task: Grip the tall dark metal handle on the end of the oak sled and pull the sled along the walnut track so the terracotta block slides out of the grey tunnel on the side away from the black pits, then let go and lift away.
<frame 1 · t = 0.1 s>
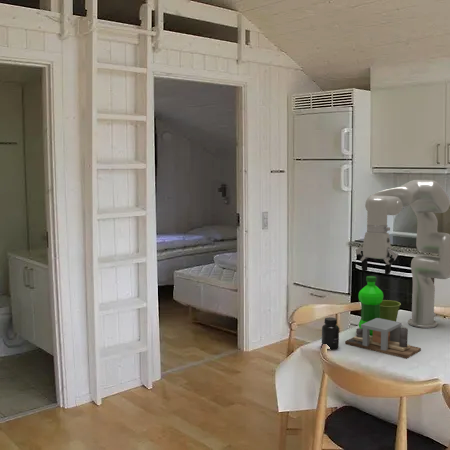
hand: (375, 272, 234), 31 cm above the table, tool pointing down, fingers open, 9 cm apart
tunnel: (381, 347, 240), resting on track board
plastic bottle: (370, 334, 258), on the table
sled: (381, 333, 239), point 6 cm above the table, slide at 0.0 cm
track board: (382, 347, 240), on the table
plant pot: (386, 328, 266), on the table
supplement bottle: (330, 348, 240), on the table
candle: (424, 315, 287), on the table
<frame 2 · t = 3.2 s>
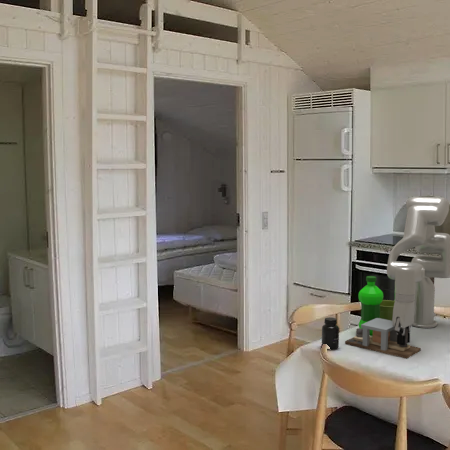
hand: (403, 343, 233), 4 cm above the table, tool pointing down, fingers closed on sled, 3 cm apart
sled: (381, 333, 239), point 5 cm above the table, slide at 0.0 cm, touching gripper
everything else where it was.
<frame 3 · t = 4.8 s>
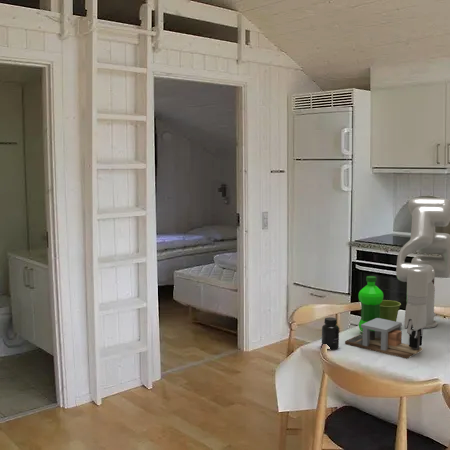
hand: (415, 345, 230), 4 cm above the table, tool pointing down, fingers closed on sled, 3 cm apart
sled: (392, 336, 236), point 5 cm above the table, slide at 5.0 cm, touching gripper
everything else where it was.
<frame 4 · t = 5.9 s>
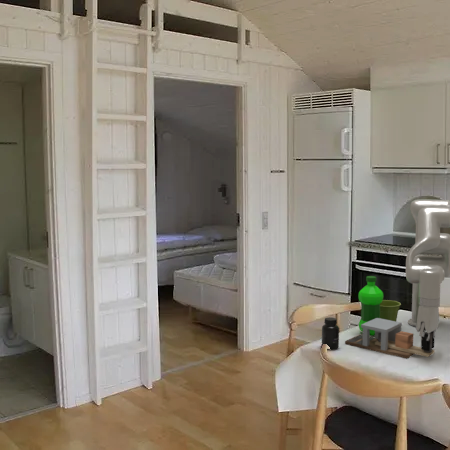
hand: (427, 348, 227), 4 cm above the table, tool pointing down, fingers closed on sled, 3 cm apart
sled: (404, 338, 233), point 6 cm above the table, slide at 9.8 cm, touching gripper
everything else where it was.
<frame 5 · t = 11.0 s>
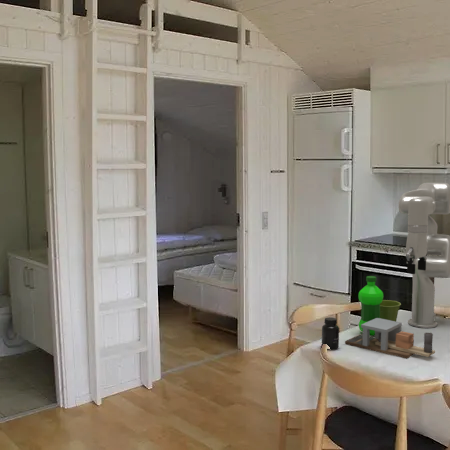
hand: (416, 271, 238), 30 cm above the table, tool pointing down, fingers open, 9 cm apart
sled: (404, 338, 233), point 5 cm above the table, slide at 10.0 cm
everything else where it was.
at the end: sled slide at 10.0 cm; the gripper is holding nothing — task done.
